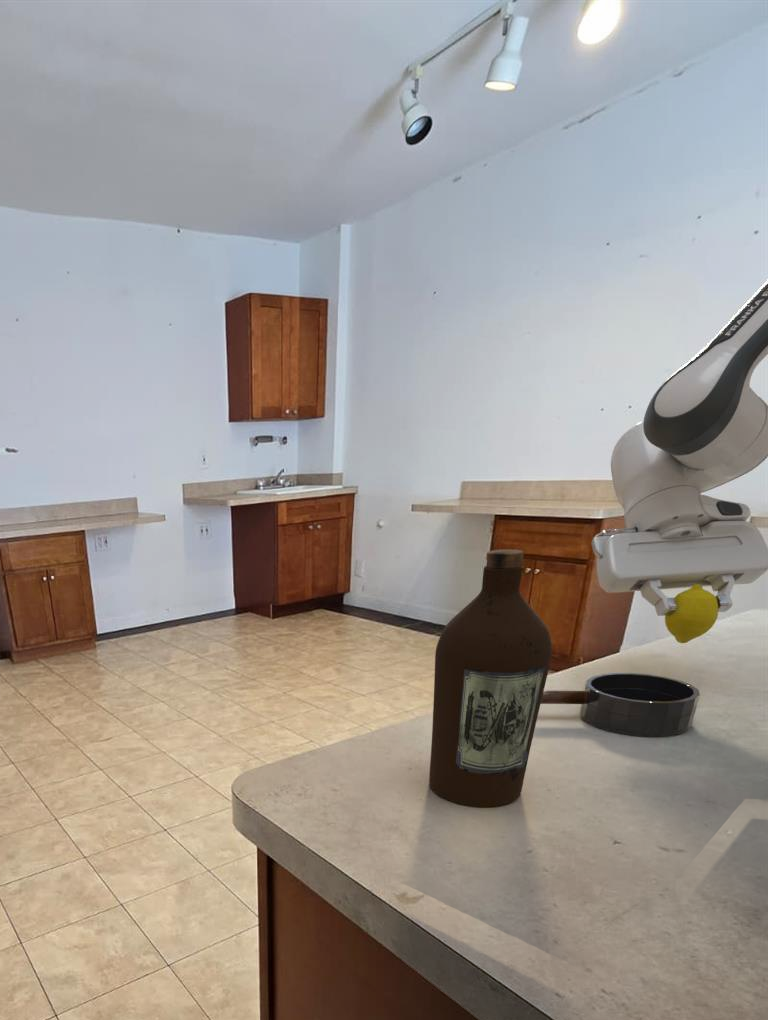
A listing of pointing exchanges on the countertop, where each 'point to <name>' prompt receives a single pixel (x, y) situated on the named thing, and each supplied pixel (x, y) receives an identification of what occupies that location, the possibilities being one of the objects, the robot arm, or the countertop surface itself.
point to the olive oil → (488, 690)
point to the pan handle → (564, 697)
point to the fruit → (692, 614)
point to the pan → (639, 704)
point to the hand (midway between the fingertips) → (695, 611)
